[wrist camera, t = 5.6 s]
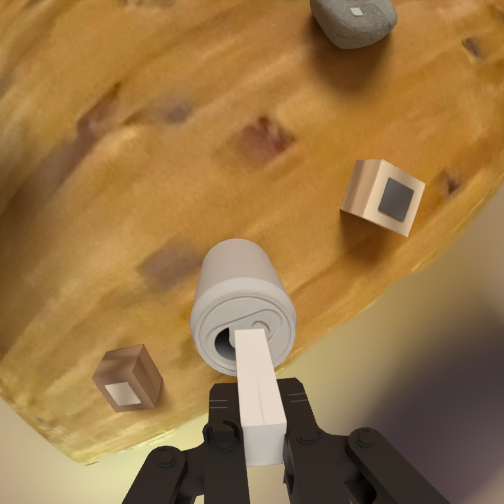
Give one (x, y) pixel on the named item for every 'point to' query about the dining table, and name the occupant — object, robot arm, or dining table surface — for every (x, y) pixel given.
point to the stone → (354, 21)
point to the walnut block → (128, 379)
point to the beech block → (383, 195)
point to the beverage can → (240, 304)
